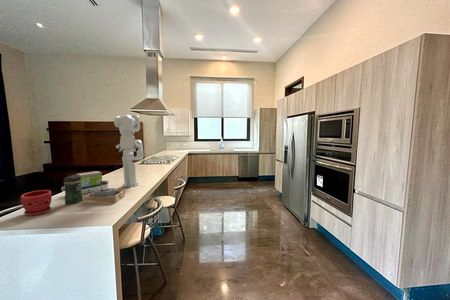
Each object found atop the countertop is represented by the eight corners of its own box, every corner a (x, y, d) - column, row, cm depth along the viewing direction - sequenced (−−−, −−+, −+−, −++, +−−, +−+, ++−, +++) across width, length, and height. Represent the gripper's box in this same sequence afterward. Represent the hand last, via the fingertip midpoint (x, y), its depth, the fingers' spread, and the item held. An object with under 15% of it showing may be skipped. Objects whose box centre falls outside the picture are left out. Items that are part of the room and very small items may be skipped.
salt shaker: (103, 194, 142) (102, 180, 141) (110, 194, 142) (109, 180, 141) (99, 196, 137) (98, 182, 136) (106, 196, 137) (105, 182, 136)
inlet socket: (102, 198, 144) (101, 188, 143) (115, 197, 144) (114, 188, 144) (94, 202, 135) (93, 192, 134) (108, 202, 136) (108, 191, 135)
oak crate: (96, 198, 146) (95, 191, 146) (124, 197, 147) (124, 190, 147) (83, 205, 132) (83, 197, 132) (115, 204, 133) (115, 196, 133)
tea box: (81, 194, 155) (80, 175, 154) (77, 192, 161) (75, 173, 160) (103, 189, 167) (101, 171, 166) (97, 187, 173) (96, 170, 172)
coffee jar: (75, 205, 132) (73, 177, 130) (62, 205, 132) (60, 177, 130) (85, 200, 142) (83, 173, 140) (73, 200, 141) (71, 174, 140)
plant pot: (16, 217, 115) (13, 196, 114) (40, 208, 128) (38, 189, 127) (36, 218, 113) (34, 197, 112) (58, 209, 126) (57, 190, 125)
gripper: (141, 133, 155) (142, 155, 157) (117, 133, 154) (119, 156, 156) (137, 133, 148) (138, 157, 149) (112, 134, 147) (114, 157, 148)
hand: (128, 156), depth 153 cm, fingers open, 9 cm apart
